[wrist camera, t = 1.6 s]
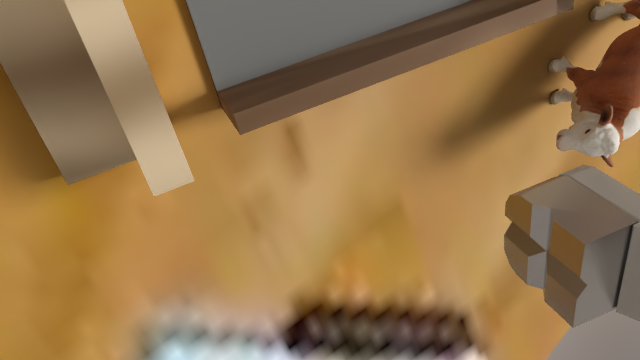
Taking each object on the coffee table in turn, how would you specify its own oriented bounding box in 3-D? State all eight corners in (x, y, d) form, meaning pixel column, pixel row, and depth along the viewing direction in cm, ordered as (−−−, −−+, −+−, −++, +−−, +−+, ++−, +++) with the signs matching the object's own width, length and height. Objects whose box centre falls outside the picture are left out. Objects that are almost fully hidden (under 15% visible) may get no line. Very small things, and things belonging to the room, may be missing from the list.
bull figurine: (493, 107, 40) (580, 154, 33) (632, -39, 38) (751, -21, 32) (520, 142, 42) (606, 192, 35) (651, 6, 41) (765, 32, 34)
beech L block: (174, 133, 32) (194, 180, 27) (67, 172, 30) (68, 230, 26) (99, -51, 26) (108, -34, 21) (-34, -13, 25) (-57, 14, 20)
